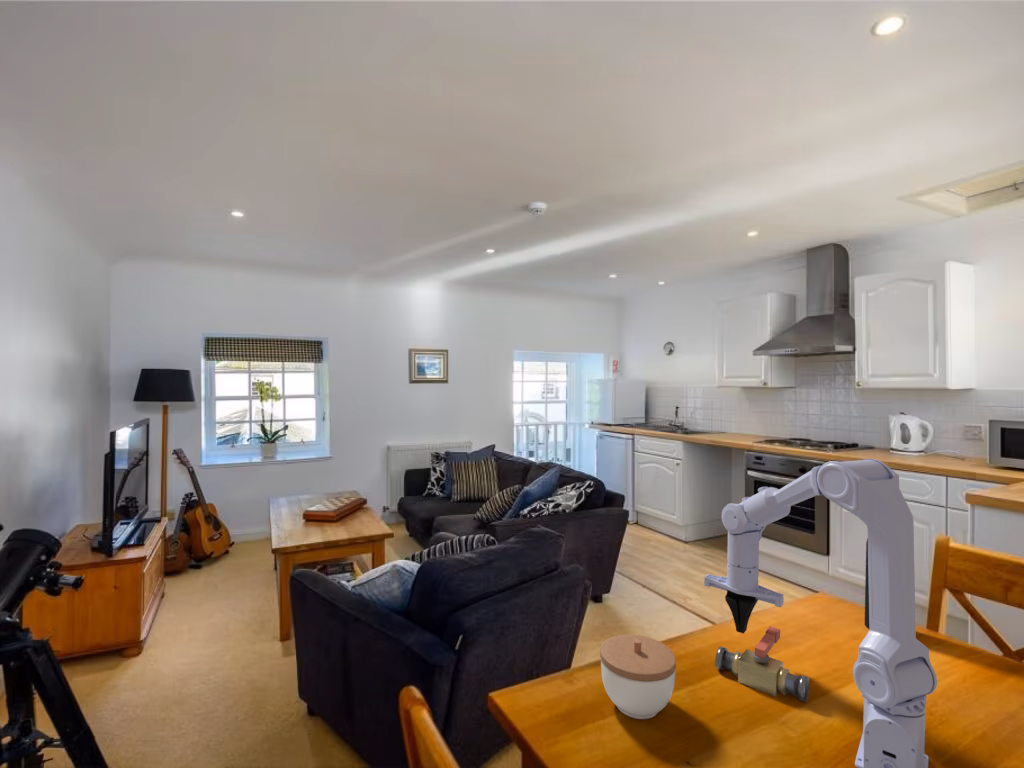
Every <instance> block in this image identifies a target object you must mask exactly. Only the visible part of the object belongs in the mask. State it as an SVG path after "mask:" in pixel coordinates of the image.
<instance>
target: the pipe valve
mask: <svg viewBox="0 0 1024 768" xmlns="http://www.w3.org/2000/svg"><path fill="white" fill-rule="evenodd" d="M753 652H754V651H753V650H749V649H747V648H746V649H745V650H744V652H739V651H736V652H733V651H729V650H728V649H727V647H724V646H720V645H719V647H718V648H717V650H716V653H715V659H714V661H715V662H714V664H715V668H716V669H719V670H721V671H724V670H726V671H729V672H732V675H733V676H735V677H737V682H738V683H740V684H742V685H745V686H747V687H750V688H752V689H755V690H757V691H760V692H763V693H765V694H767V695H769V696H773V697H777V696H778V695H779V694H782V695H783V696H787V694H790V695H793V696H795V697H797V698H798V700H799V701H801V702H803V703H806V702H807V701H808V698H809V693H810V677H809V676H807V675H803V674H801V675H800V676H799V675H796V674H793V673H791V672H790V670H789V669H788V668H785V667H784V661H782V660H779V659H776V658H773V657H770V656H769V662H768V663H760V662H757V661H756V660H754V659H753Z"/></svg>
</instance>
